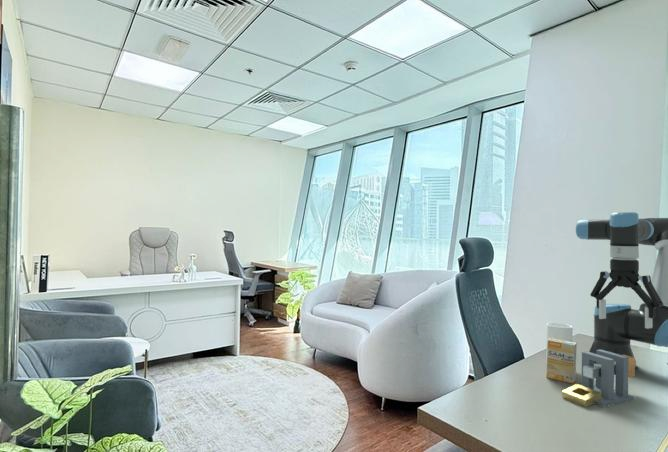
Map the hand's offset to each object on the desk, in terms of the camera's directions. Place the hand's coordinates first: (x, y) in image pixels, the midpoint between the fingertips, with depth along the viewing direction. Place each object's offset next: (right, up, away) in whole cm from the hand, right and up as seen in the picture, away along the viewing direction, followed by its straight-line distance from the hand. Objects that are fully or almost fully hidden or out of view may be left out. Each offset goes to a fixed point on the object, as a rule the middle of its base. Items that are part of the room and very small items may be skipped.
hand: (624, 323), depth 124 cm
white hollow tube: (-13, -21, +15) cm, 29 cm away
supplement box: (-19, -21, +4) cm, 28 cm away
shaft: (-11, -15, -8) cm, 20 cm away
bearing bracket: (-14, -20, -9) cm, 26 cm away
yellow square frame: (-23, -18, -13) cm, 32 cm away
